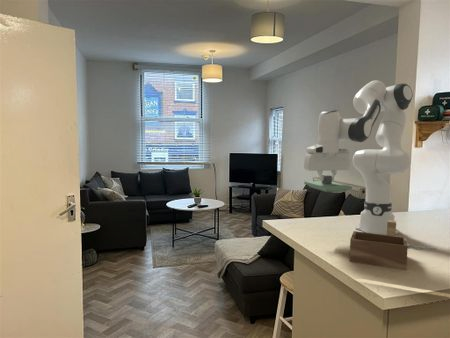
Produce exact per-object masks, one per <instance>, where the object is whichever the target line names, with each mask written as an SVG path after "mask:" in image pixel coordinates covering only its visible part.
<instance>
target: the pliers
mask: <svg viewBox="0 0 450 338" xmlns="http://www.w3.org/2000/svg"><path fill="white" fill-rule="evenodd" d="M407 245H408V250H414V249H415V250H417V251H420V250H423V249H428V248H429V249H430V250H436V249H437V250H438V248H436V247H433V246H432V247H431V246H426V245H425V246H424V245H413V244H411V243H407ZM429 249H428V250H429Z"/></svg>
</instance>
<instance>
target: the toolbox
mask: <svg viewBox="0 0 450 338" xmlns="http://www.w3.org/2000/svg"><path fill="white" fill-rule="evenodd" d="M407 239H408V237H407V236H398V235H395V236H391V235H383V234H374V233H366V232H363V231H357V230H356V231H355V230H353V232H352V233H351V237H350V243H349V262H350V263H356V264H357V263H358V264H364V265H370V266H378V267H384V268H389V269H396V270H403V271H407V267H408V266H407V264H408V250H409V249H408V245H407V244H408V240H407Z"/></svg>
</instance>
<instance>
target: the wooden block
mask: <svg viewBox="0 0 450 338" xmlns="http://www.w3.org/2000/svg"><path fill="white" fill-rule="evenodd" d="M396 229H397V220H394V221H392V220H388V221H387V235H391V236H397V234H396Z"/></svg>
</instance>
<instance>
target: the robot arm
mask: <svg viewBox="0 0 450 338" xmlns="http://www.w3.org/2000/svg"><path fill="white" fill-rule="evenodd" d="M412 99H413V90H412V87H410V85H408V84H407V83H398V84H394V85H390V86H387V87H386V84H385V83H384V82H383V81H381V80H377V79H376V80H372V81H370V82H368V83H367V84H365V85H364V86H363V87H361V88H360V89H359V91H357V93H355V95H354V97H353V100H352V104H353V108H354V110H356V112H357V113H359V114H361V115H362V116H361V117H356V118H355V117H353V118H343V117H341V115H340V113H339V110H337V109H329V110H324V111H323V110H322V112H320V113H319V116H318V123H317V133H318V134H317V135H318V139H317V143H316V144H313V145H312V146H311V145H310V146H308V147H306V148H305V149H306V154H305V156H304V160H303V161H304V163H303V168H304V170H305V171H309V172H311V171H312V172H313V171H314V172H315V171H316V173H317V175H318V177H319V181H325V177H323V176H322V175H323V172H324V171H330V173H331V175H330V176H332V182H334V181H335V177H336V175H337V174H338V173H337V172H338V171H348V170H350V169H351V163H350V162H351V161H352V165H353V167H354V169H356V171H358V173H360V175H361V176H362V179H363V181H364V184H365V185H364V186H365V200H364V203H363V208H364V209H363V210H362V211H361V212H360V215H359V216H360V219H359V224H357V225H356V226H355V230H358V231H360V232H365V233H374V234H383V235H387V221H388V220H392V221H395V215H394V214H393V213H392V208H393V204H392V192H393V191H392V186H391V184H389V182H387V181H386V180H384V179H383V178H382V177H381V174H388V175H389V174H391V175H396V174H397V175H398V174H404V173H406V172H407V171H408V170H409V169H410V168H411V158H410V156H409V154H408V153H407V152H406V151H405V150H404V149H403V148H402V146H401V142H402V137H403V133H404V129H405V126H406V119H407V118H406V117H407V116H406V113H405V110H407V109H408V107H409V104H410V103H411V101H412ZM381 112H383V117H382V118H381V121H380V122H379V126H378V129H377V132H376V135H375V142H376V144H377V145H378V146H379V147H381V148H382V149H377V148H375V149H374V148H373V149H372V148H370V149H369V148H367V149H366V148H364V149H360V150H357V151H355V153H354V154H353V156H352V158H351V159H352V160H351V159H350V150H348V149H347V148H340V141H342V142H356V143H364V142H365V141H366V140H368V138H369V137H371V136H370V135H371V133H372V128H373V126H374V124H375V122H376V121H377V119H378V117H379V115H380V113H381ZM350 160H351V161H350ZM397 234H399V231H398V229H397V228H396V235H397Z"/></svg>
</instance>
